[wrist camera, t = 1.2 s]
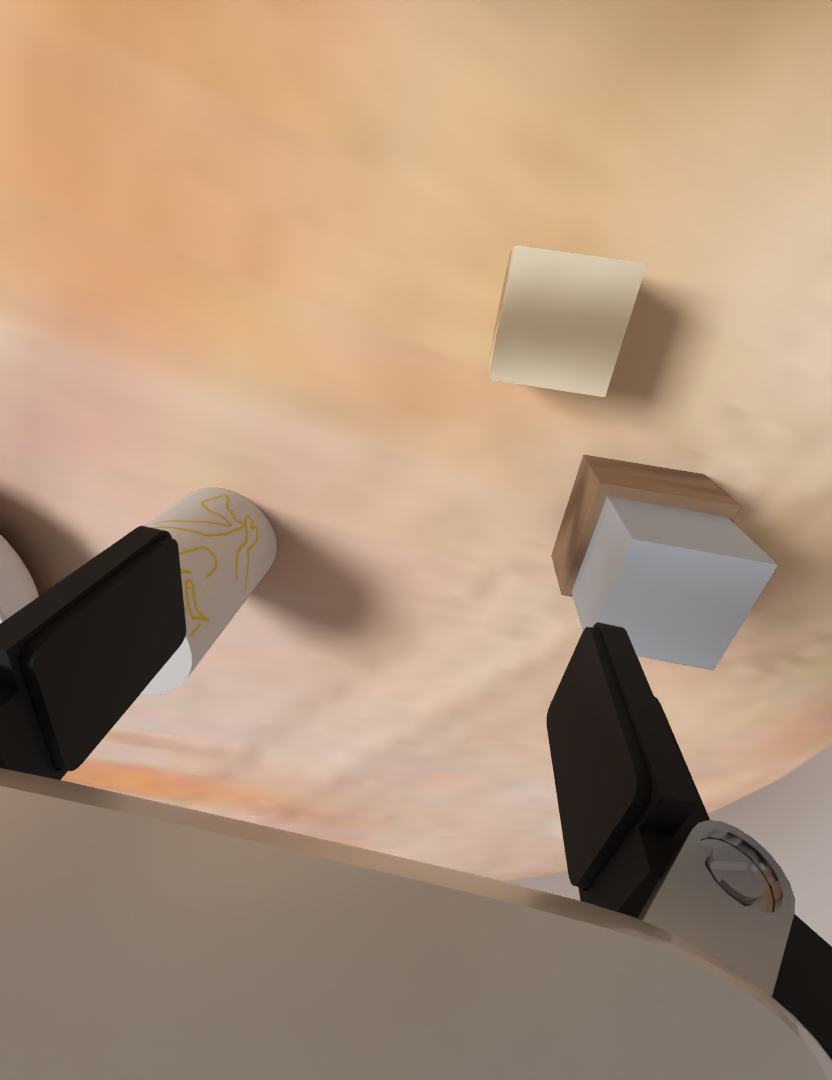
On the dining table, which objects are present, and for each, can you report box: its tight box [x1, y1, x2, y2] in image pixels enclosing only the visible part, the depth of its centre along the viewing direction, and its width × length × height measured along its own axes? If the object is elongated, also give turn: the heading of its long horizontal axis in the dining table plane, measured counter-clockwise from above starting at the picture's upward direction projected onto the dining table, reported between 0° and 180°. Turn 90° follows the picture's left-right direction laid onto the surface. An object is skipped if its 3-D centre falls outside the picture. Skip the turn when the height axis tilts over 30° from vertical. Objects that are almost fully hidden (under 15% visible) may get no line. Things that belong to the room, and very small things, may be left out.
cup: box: [140, 488, 277, 695], centre depth 31 cm, size 8×8×12 cm
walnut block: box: [551, 455, 741, 597], centre depth 29 cm, size 8×8×5 cm
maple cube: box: [489, 245, 647, 397], centre depth 24 cm, size 6×6×6 cm
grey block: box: [572, 496, 778, 670], centre depth 25 cm, size 6×6×5 cm
